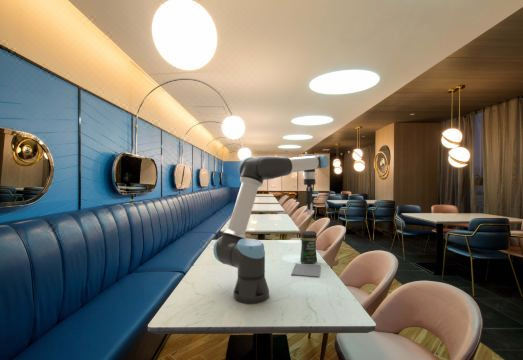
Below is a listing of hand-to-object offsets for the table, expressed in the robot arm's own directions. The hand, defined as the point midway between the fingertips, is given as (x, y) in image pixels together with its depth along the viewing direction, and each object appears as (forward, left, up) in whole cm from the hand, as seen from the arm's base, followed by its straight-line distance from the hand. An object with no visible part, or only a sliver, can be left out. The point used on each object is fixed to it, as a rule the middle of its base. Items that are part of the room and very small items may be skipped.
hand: (309, 213), depth 171 cm
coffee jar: (-12, 0, -28) cm, 30 cm away
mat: (-27, 0, -27) cm, 39 cm away
